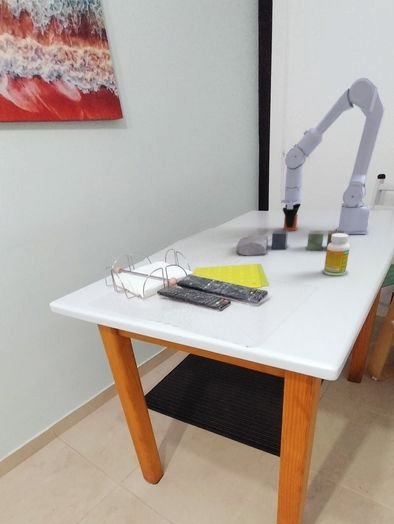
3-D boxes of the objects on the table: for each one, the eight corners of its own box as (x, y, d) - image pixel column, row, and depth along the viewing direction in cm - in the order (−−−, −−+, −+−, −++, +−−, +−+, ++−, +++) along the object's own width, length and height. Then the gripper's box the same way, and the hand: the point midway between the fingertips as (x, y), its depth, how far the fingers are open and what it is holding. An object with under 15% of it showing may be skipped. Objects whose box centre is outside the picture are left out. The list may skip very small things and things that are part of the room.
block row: (341, 246, 108) (343, 230, 105) (341, 250, 104) (343, 234, 101) (273, 245, 115) (274, 230, 112) (271, 249, 111) (272, 233, 108)
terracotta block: (296, 228, 132) (297, 214, 130) (295, 230, 129) (296, 217, 126) (285, 227, 134) (286, 214, 131) (283, 230, 130) (284, 217, 128)
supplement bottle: (342, 277, 86) (349, 238, 81) (321, 274, 89) (326, 236, 83) (347, 270, 90) (353, 233, 85) (326, 268, 92) (331, 231, 87)
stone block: (237, 261, 109) (268, 254, 105) (234, 246, 106) (265, 239, 103) (241, 251, 119) (269, 245, 115) (238, 237, 116) (267, 231, 113)
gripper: (284, 184, 130) (282, 221, 138) (279, 190, 119) (277, 230, 126) (303, 184, 128) (300, 221, 135) (299, 189, 117) (296, 230, 124)
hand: (290, 225), depth 131 cm, fingers open, 5 cm apart
